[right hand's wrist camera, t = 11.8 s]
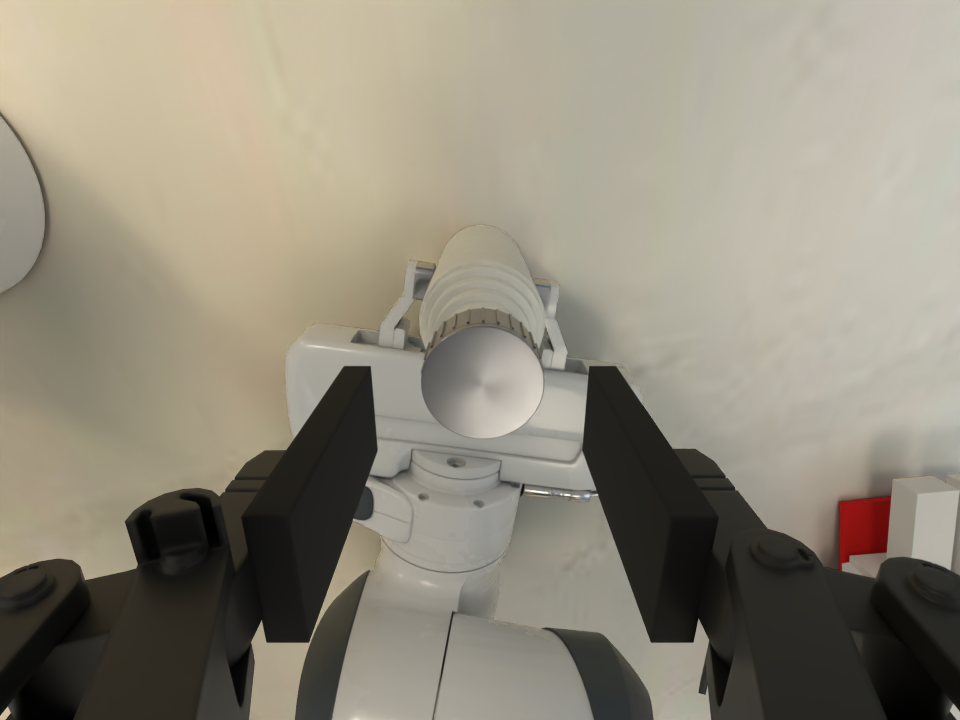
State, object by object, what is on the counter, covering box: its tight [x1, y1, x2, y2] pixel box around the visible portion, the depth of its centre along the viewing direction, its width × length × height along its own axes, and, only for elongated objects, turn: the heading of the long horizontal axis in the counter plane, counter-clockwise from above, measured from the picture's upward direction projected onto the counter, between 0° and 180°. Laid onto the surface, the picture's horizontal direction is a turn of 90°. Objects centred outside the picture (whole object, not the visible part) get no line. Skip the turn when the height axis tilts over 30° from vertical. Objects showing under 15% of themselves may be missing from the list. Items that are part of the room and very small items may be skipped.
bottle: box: [419, 225, 545, 349], centre depth 25 cm, size 5×5×19 cm
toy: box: [839, 473, 960, 720], centre depth 39 cm, size 12×13×30 cm
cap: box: [421, 307, 545, 439], centre depth 17 cm, size 4×4×2 cm
